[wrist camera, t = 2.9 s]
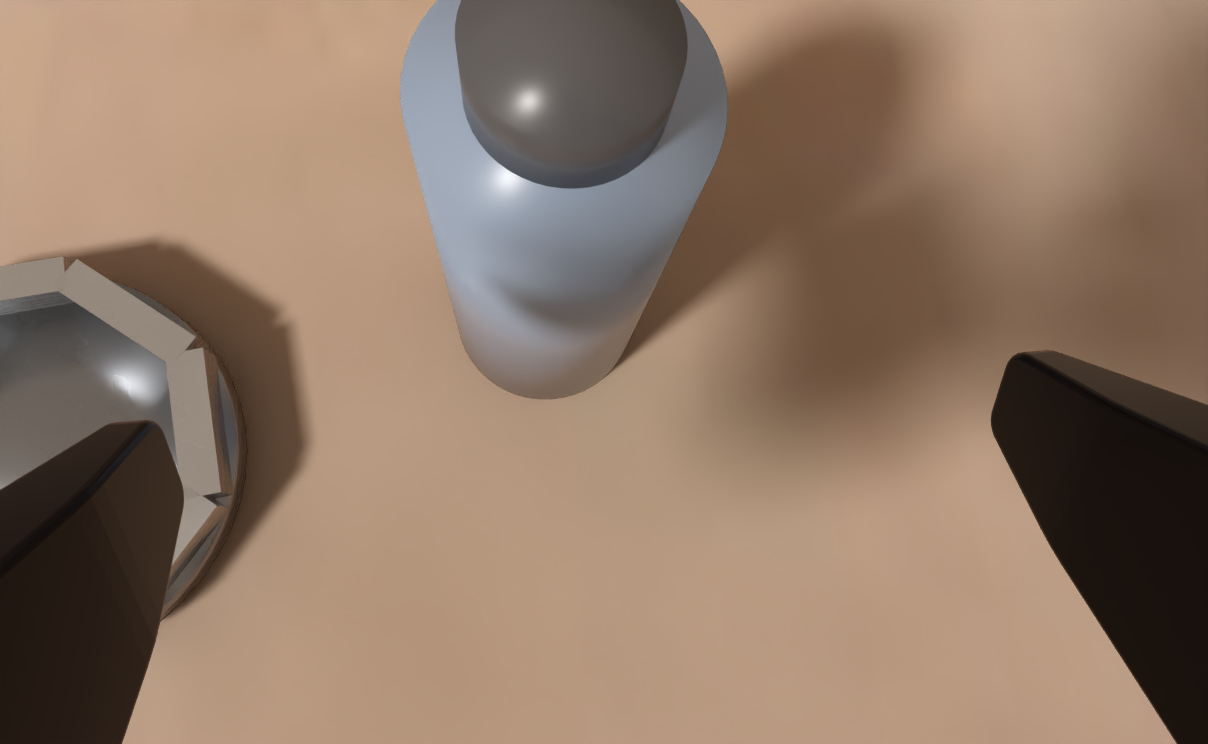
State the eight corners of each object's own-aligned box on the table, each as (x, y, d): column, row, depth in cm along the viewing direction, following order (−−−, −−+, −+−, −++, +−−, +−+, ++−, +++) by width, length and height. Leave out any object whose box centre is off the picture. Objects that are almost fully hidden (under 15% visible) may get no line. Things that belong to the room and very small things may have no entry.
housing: (326, 412, 19) (309, 399, 18) (65, 761, 17) (20, 780, 16) (20, 213, 20) (-22, 183, 18) (-273, 530, 18) (-349, 526, 16)
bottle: (663, 292, 21) (814, 3, 10) (571, 433, 20) (631, 277, 9) (520, 202, 21) (521, -176, 10) (422, 336, 20) (307, 72, 9)
